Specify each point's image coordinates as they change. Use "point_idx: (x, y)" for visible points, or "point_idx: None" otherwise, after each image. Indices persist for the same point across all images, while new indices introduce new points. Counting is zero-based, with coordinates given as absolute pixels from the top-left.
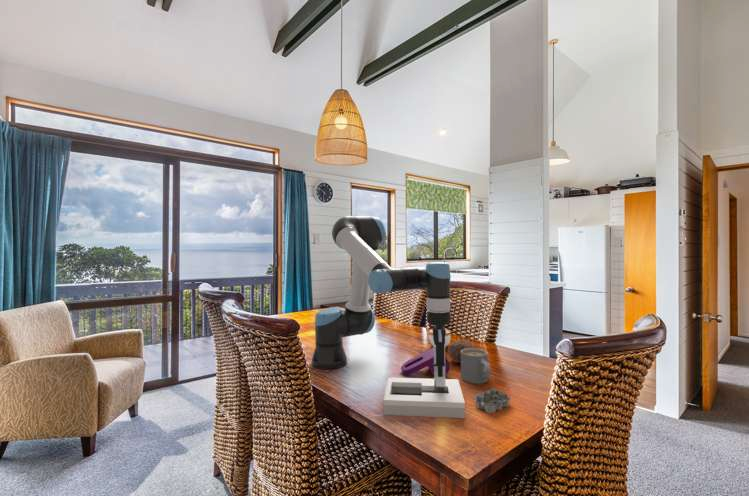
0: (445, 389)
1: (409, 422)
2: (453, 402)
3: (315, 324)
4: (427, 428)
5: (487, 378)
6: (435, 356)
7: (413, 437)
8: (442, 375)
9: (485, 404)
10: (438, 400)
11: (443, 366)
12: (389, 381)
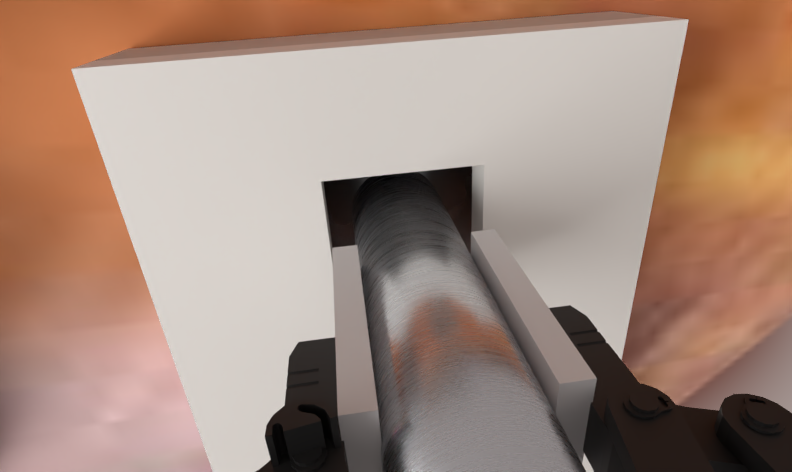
0: (421, 202)
1: (637, 331)
2: (666, 125)
3: None
4: (709, 243)
5: None
6: None
7: (777, 294)
8: (585, 318)
9: None
10: (619, 241)
11: (592, 382)
12: None
